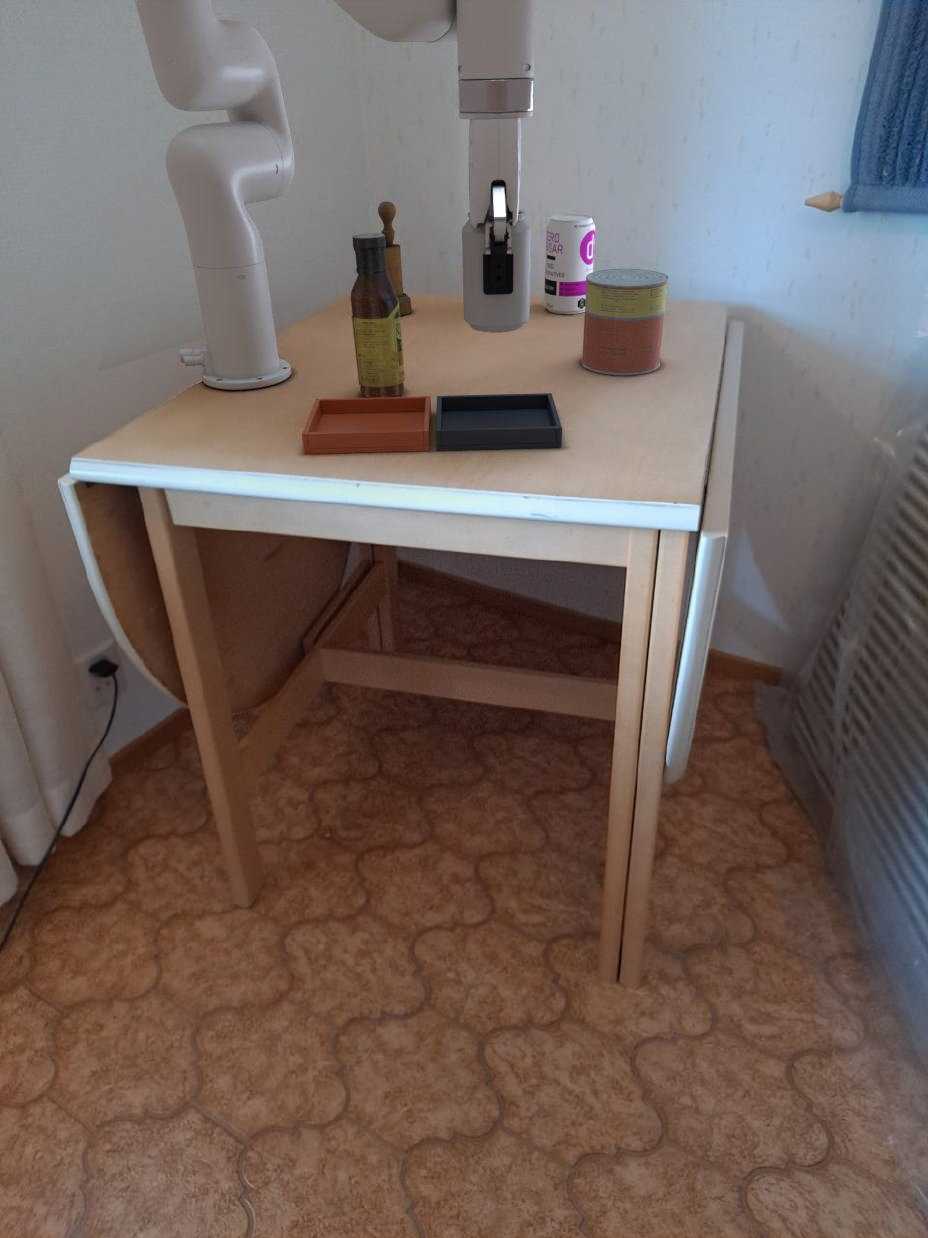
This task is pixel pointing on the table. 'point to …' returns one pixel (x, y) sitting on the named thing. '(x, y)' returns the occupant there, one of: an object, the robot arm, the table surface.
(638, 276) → the canned food
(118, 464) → the table surface
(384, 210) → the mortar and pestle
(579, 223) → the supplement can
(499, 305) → the can
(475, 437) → the charcoal tray
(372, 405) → the terracotta tray
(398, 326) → the sauce bottle
